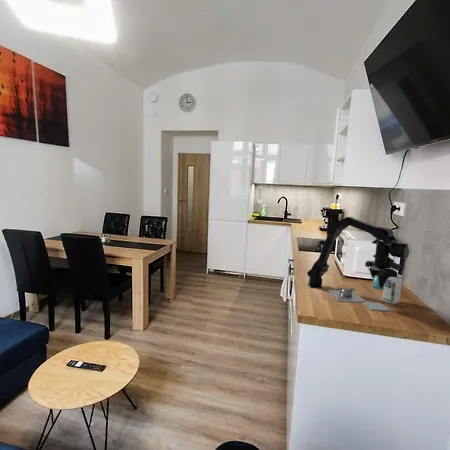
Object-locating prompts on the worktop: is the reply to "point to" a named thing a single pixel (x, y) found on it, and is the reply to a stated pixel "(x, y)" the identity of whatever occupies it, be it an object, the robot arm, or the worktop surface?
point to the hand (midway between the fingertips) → (378, 285)
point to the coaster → (376, 306)
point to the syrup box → (392, 289)
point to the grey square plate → (346, 295)
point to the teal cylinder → (376, 284)
